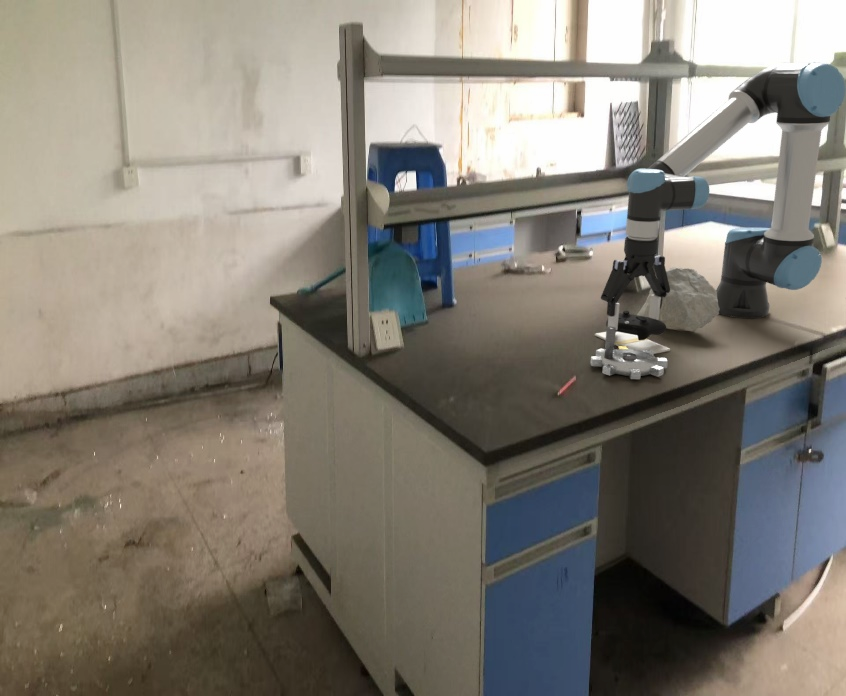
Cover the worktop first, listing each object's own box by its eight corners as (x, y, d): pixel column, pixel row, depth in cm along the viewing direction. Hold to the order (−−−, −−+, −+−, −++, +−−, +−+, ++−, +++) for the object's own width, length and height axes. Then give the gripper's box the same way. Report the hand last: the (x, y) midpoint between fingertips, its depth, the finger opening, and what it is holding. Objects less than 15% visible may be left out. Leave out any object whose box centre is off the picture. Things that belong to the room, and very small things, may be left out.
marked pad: (622, 330, 203) (623, 328, 202) (669, 350, 188) (670, 348, 188) (594, 335, 199) (594, 333, 199) (640, 356, 185) (640, 354, 184)
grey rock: (726, 336, 199) (734, 278, 194) (689, 345, 192) (697, 285, 187) (658, 313, 217) (664, 259, 212) (623, 320, 211) (628, 265, 206)
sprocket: (587, 351, 186) (589, 316, 183) (659, 354, 184) (663, 318, 182) (594, 378, 170) (597, 339, 167) (673, 381, 169) (678, 342, 166)
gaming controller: (670, 314, 191) (654, 318, 183) (666, 339, 192) (651, 343, 184) (615, 305, 199) (598, 308, 192) (612, 329, 201) (595, 333, 193)
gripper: (669, 229, 193) (660, 314, 200) (589, 238, 183) (583, 327, 190) (692, 235, 187) (681, 322, 194) (610, 244, 177) (603, 336, 184)
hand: (633, 325), depth 192 cm, fingers closed on gaming controller, 12 cm apart
